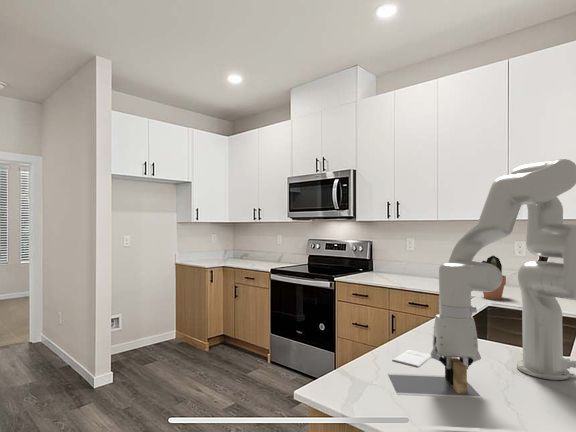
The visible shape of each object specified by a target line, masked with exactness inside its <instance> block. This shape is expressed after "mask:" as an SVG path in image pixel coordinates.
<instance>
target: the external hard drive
mask: <svg viewBox="0 0 576 432" xmlns="http://www.w3.org/2000/svg"><path fill="white" fill-rule="evenodd" d="M430 354H431V353H426V352H423V351H422V352H421V351H417V350H412V349H407V350H405V351H404V352H402V353H400V354H399V355H397V356H396V357H395V358H393V359H391V361H392V362H395V363H399V364H403V365H407V366H411V367H415V368H420V367H421V366H423V365H424V364H425V363H426V362H427V361H428V360H431V359H433V358H432V357H431V356H430Z"/></svg>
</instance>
